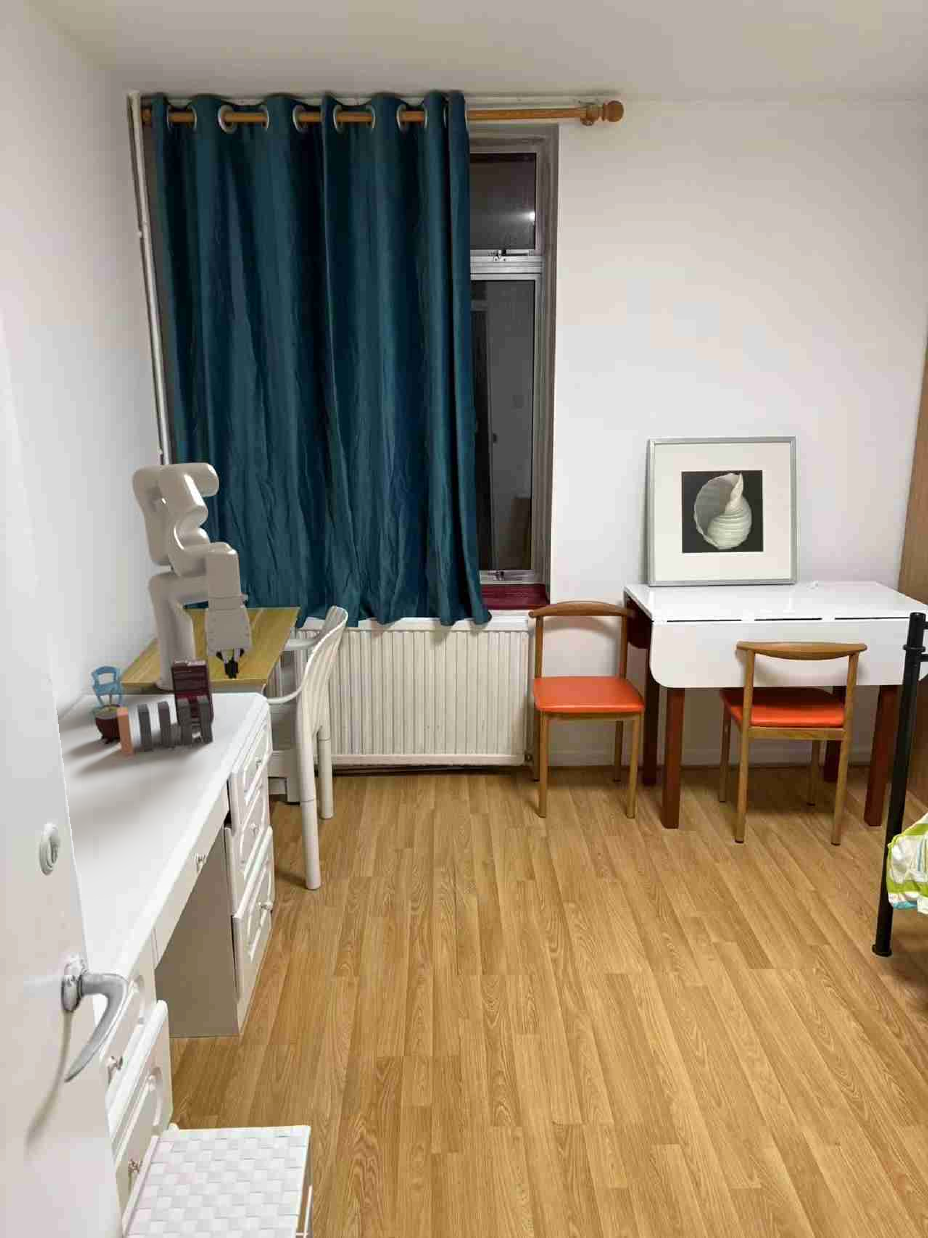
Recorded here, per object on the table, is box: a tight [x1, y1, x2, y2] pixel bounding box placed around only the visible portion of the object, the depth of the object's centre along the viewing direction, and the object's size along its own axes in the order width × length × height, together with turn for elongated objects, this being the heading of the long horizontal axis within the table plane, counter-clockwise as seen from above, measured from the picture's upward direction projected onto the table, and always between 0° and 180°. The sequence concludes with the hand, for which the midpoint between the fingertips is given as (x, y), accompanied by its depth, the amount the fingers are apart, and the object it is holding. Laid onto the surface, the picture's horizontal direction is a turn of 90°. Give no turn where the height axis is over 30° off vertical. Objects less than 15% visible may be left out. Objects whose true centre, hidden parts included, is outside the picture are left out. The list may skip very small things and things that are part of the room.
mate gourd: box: [94, 687, 121, 745], centre depth 226 cm, size 8×8×15 cm
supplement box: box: [171, 658, 215, 728], centre depth 236 cm, size 9×5×16 cm, turn 98°
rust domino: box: [117, 706, 134, 757], centre depth 221 cm, size 5×2×10 cm, turn 23°
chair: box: [90, 665, 125, 714], centre depth 243 cm, size 8×8×12 cm
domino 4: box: [197, 695, 214, 744], centre depth 227 cm, size 5×2×10 cm, turn 23°
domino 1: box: [136, 703, 154, 754], centre depth 222 cm, size 5×2×10 cm, turn 23°
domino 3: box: [177, 698, 194, 747], centre depth 226 cm, size 5×2×10 cm, turn 23°
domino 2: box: [156, 700, 175, 750], centre depth 224 cm, size 5×2×10 cm, turn 23°
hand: (232, 676), depth 227 cm, fingers closed
